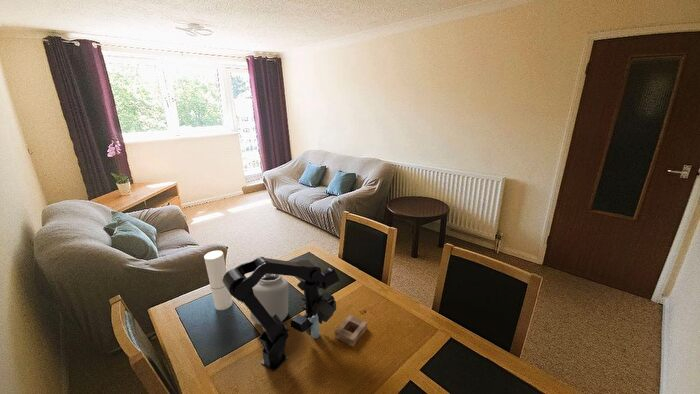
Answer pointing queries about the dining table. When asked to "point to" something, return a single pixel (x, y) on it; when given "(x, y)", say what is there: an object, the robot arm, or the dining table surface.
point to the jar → (272, 295)
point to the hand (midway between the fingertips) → (315, 328)
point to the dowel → (315, 327)
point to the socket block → (348, 336)
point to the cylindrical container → (218, 279)
